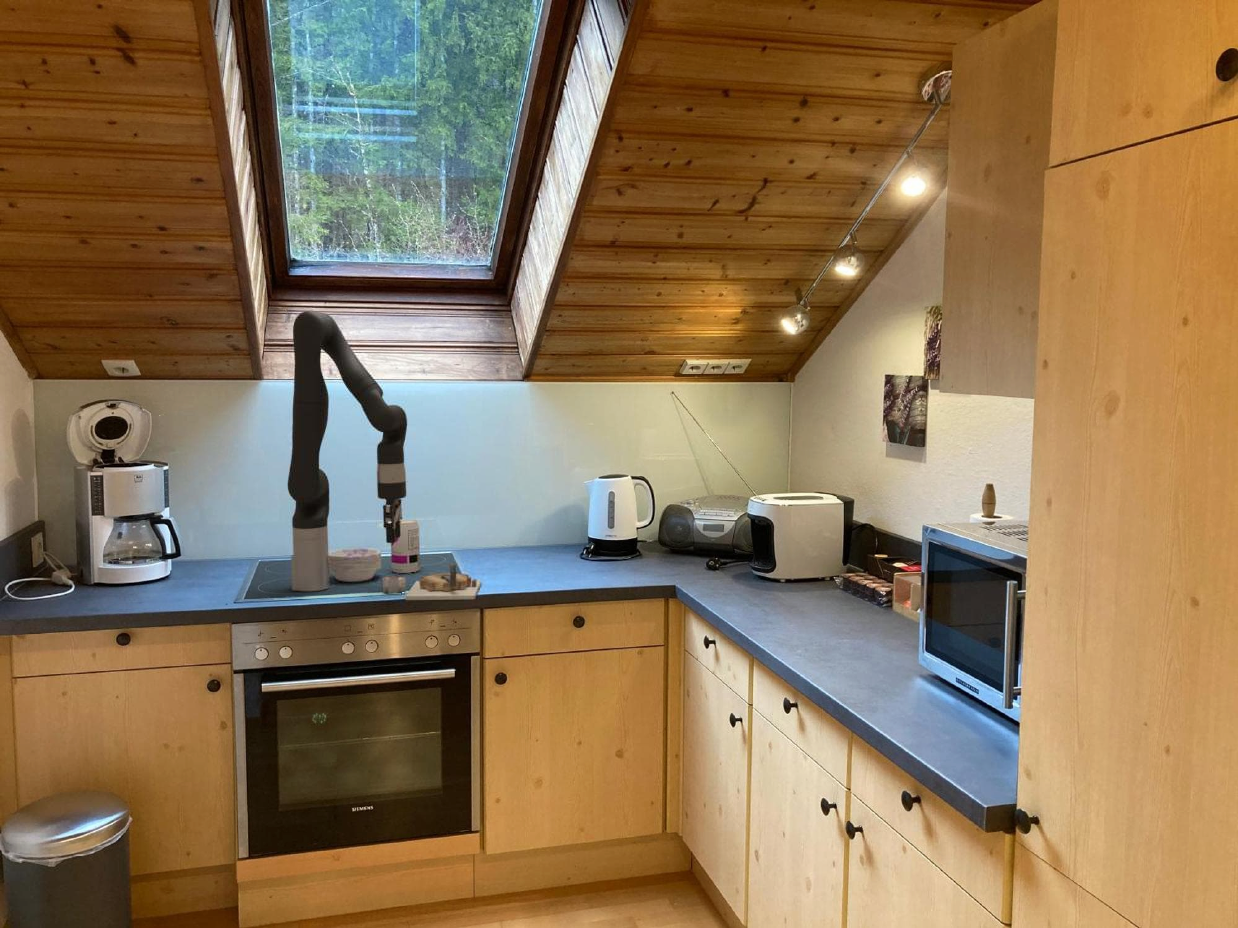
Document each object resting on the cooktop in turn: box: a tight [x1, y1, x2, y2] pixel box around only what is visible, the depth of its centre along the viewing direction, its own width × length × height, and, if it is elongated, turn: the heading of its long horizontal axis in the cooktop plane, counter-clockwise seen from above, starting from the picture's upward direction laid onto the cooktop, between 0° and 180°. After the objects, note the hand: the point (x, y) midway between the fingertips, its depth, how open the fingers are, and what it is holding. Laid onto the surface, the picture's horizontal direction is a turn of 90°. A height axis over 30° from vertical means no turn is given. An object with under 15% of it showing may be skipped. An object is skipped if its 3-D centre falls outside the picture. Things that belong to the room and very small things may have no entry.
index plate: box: [404, 578, 482, 601], centre depth 278 cm, size 18×19×3 cm
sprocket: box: [418, 564, 472, 591], centre depth 279 cm, size 14×16×7 cm
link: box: [382, 575, 407, 595], centre depth 277 cm, size 3×6×4 cm, turn 93°
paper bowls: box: [328, 548, 382, 583], centre depth 294 cm, size 15×15×8 cm
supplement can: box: [390, 519, 421, 574], centre depth 304 cm, size 8×8×15 cm
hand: (393, 540), depth 276 cm, fingers open, 8 cm apart
